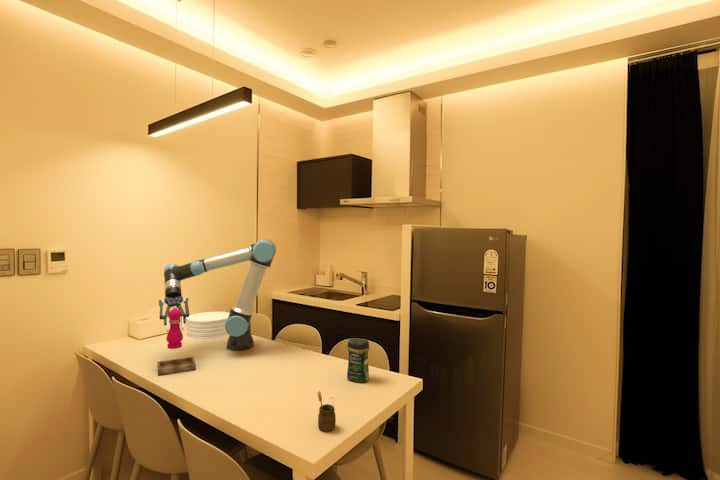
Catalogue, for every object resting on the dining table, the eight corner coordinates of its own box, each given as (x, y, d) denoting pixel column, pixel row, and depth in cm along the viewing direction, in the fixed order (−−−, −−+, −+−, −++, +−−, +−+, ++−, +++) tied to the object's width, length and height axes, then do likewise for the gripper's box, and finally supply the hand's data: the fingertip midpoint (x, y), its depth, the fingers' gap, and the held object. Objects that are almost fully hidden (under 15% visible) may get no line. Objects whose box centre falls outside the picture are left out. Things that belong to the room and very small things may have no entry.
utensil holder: (330, 433, 128) (330, 398, 128) (314, 429, 131) (314, 394, 131) (338, 425, 134) (338, 391, 133) (322, 421, 136) (322, 388, 136)
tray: (193, 362, 196) (192, 356, 196) (195, 370, 186) (195, 363, 186) (157, 367, 189) (157, 361, 189) (158, 376, 178) (158, 369, 178)
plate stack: (177, 338, 241) (177, 320, 240) (202, 327, 268) (202, 310, 268) (218, 340, 236) (218, 322, 236) (240, 329, 264) (240, 312, 263)
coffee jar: (344, 380, 174) (344, 339, 173) (353, 374, 181) (353, 335, 180) (363, 384, 169) (363, 342, 168) (371, 378, 176) (371, 338, 175)
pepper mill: (176, 349, 183) (176, 307, 182) (162, 348, 184) (163, 307, 184) (186, 345, 190) (186, 305, 189) (173, 344, 191) (173, 304, 191)
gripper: (192, 293, 204) (196, 331, 191) (152, 296, 195) (153, 336, 181) (193, 284, 200) (197, 323, 186) (152, 287, 191) (153, 327, 177)
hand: (175, 329), depth 184 cm, fingers closed on pepper mill, 6 cm apart
